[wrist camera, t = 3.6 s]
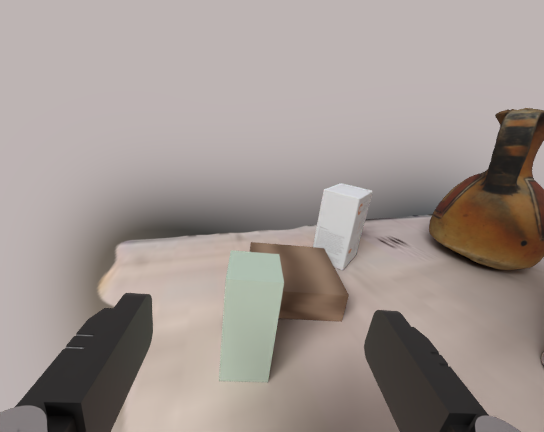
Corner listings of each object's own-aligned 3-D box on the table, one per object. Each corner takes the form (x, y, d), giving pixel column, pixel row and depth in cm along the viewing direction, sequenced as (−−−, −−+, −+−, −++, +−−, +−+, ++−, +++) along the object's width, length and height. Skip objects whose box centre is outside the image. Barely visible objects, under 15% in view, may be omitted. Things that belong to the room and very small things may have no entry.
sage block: (265, 342, 28) (279, 254, 24) (267, 382, 24) (284, 282, 20) (224, 340, 28) (230, 250, 24) (218, 380, 24) (225, 279, 20)
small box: (326, 243, 54) (340, 182, 49) (356, 254, 51) (374, 190, 46) (309, 257, 47) (322, 188, 43) (342, 271, 44) (361, 198, 39)
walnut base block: (319, 269, 44) (324, 248, 42) (341, 321, 33) (348, 295, 31) (248, 264, 43) (250, 242, 41) (246, 316, 31) (249, 289, 30)
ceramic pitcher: (532, 261, 58) (609, 119, 47) (533, 297, 44) (643, 105, 33) (435, 229, 70) (479, 111, 59) (411, 249, 56) (464, 99, 45)
